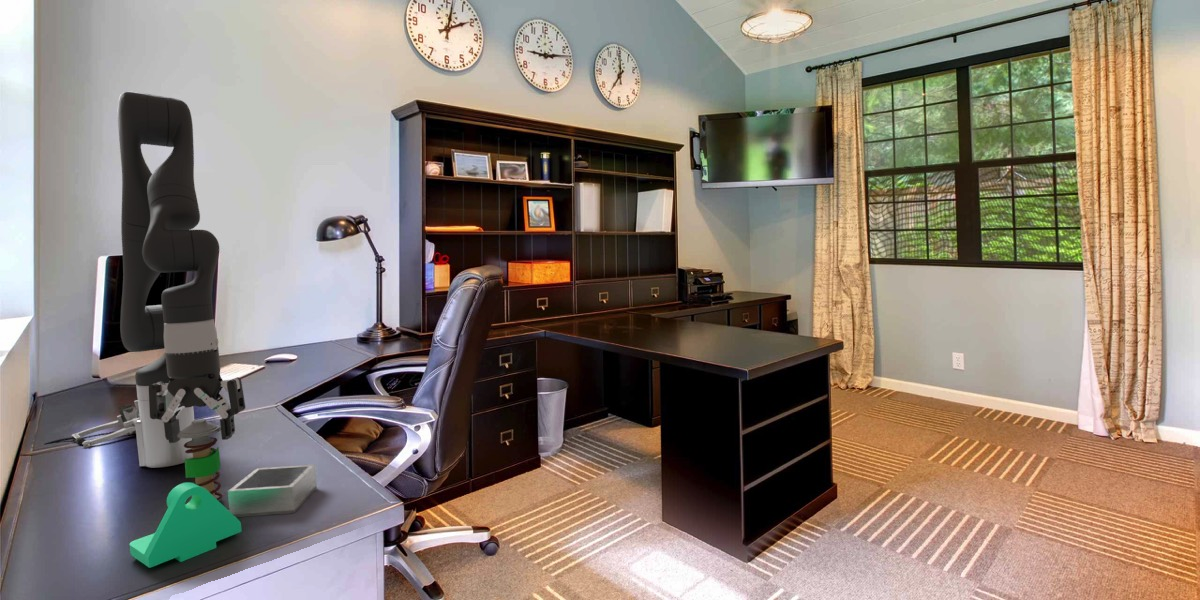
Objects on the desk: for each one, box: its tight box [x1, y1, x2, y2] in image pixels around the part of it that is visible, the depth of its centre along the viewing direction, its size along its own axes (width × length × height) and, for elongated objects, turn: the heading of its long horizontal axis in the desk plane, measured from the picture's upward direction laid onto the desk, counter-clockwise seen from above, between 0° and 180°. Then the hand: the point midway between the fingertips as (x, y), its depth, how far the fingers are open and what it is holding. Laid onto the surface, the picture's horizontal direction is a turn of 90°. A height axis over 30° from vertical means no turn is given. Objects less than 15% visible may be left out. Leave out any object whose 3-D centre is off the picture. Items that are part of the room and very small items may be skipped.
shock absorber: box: [177, 418, 224, 501], centre depth 104 cm, size 6×6×15 cm
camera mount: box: [129, 481, 242, 568], centre depth 89 cm, size 12×8×10 cm, turn 146°
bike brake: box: [43, 399, 140, 449], centre depth 144 cm, size 14×7×20 cm
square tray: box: [227, 464, 318, 518], centre depth 104 cm, size 10×10×4 cm
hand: (201, 440), depth 103 cm, fingers open, 8 cm apart
